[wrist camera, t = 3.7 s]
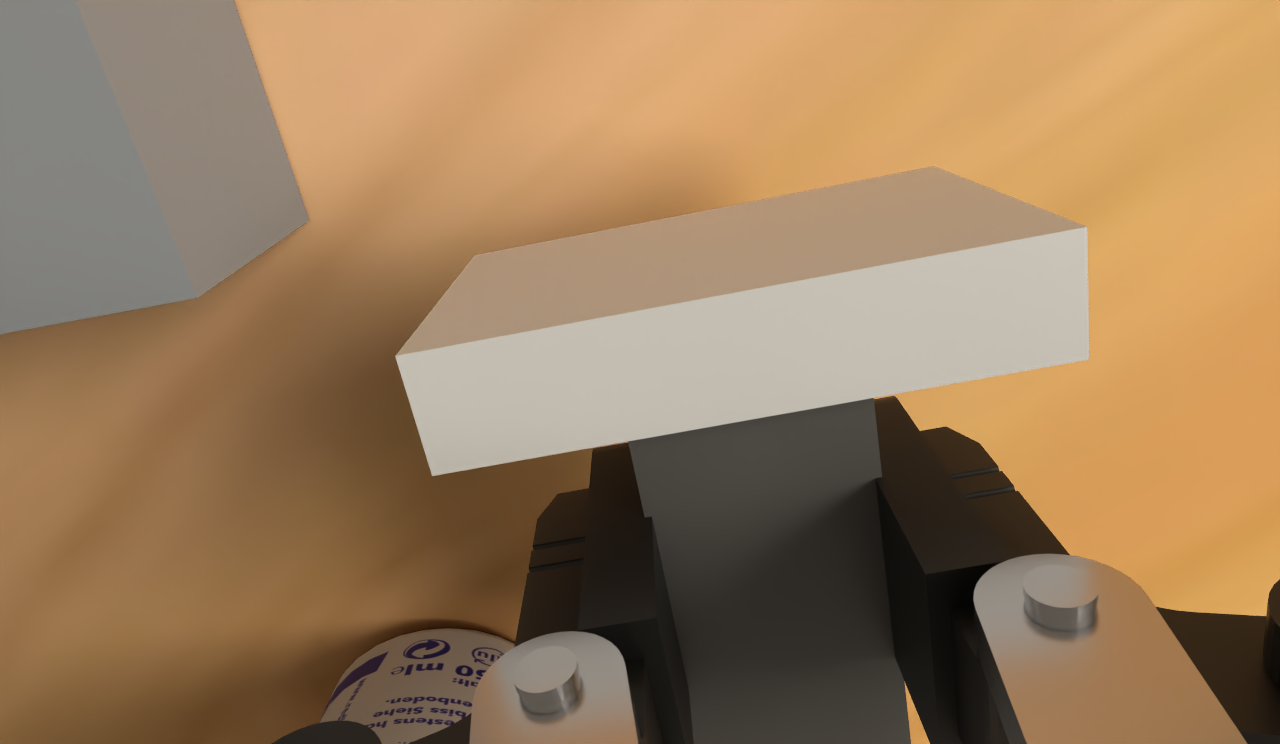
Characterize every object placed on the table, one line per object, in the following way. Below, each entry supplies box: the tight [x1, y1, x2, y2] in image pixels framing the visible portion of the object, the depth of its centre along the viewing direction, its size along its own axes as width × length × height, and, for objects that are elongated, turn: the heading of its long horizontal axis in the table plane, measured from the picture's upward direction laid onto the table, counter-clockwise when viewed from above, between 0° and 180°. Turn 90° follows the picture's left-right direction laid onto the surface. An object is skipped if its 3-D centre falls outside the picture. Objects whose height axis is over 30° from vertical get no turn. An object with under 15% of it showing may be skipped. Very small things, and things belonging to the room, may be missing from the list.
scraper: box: [395, 166, 1089, 744], centre depth 11 cm, size 8×6×4 cm
